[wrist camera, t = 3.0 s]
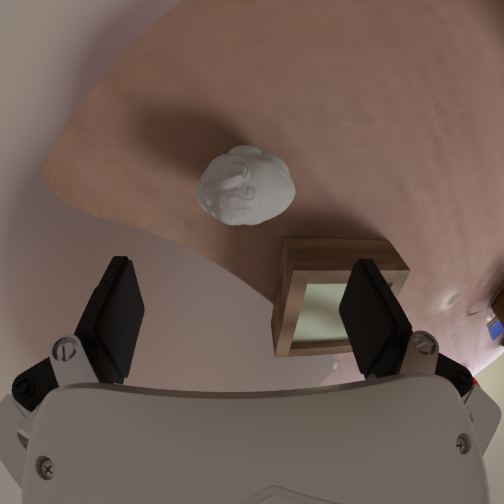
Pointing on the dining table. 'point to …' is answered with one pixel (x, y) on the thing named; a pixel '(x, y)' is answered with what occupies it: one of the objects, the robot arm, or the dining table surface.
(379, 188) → the dining table surface
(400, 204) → the dining table surface
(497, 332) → the hard drive
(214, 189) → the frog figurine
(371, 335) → the robot arm
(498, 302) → the mug
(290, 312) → the pedestal
